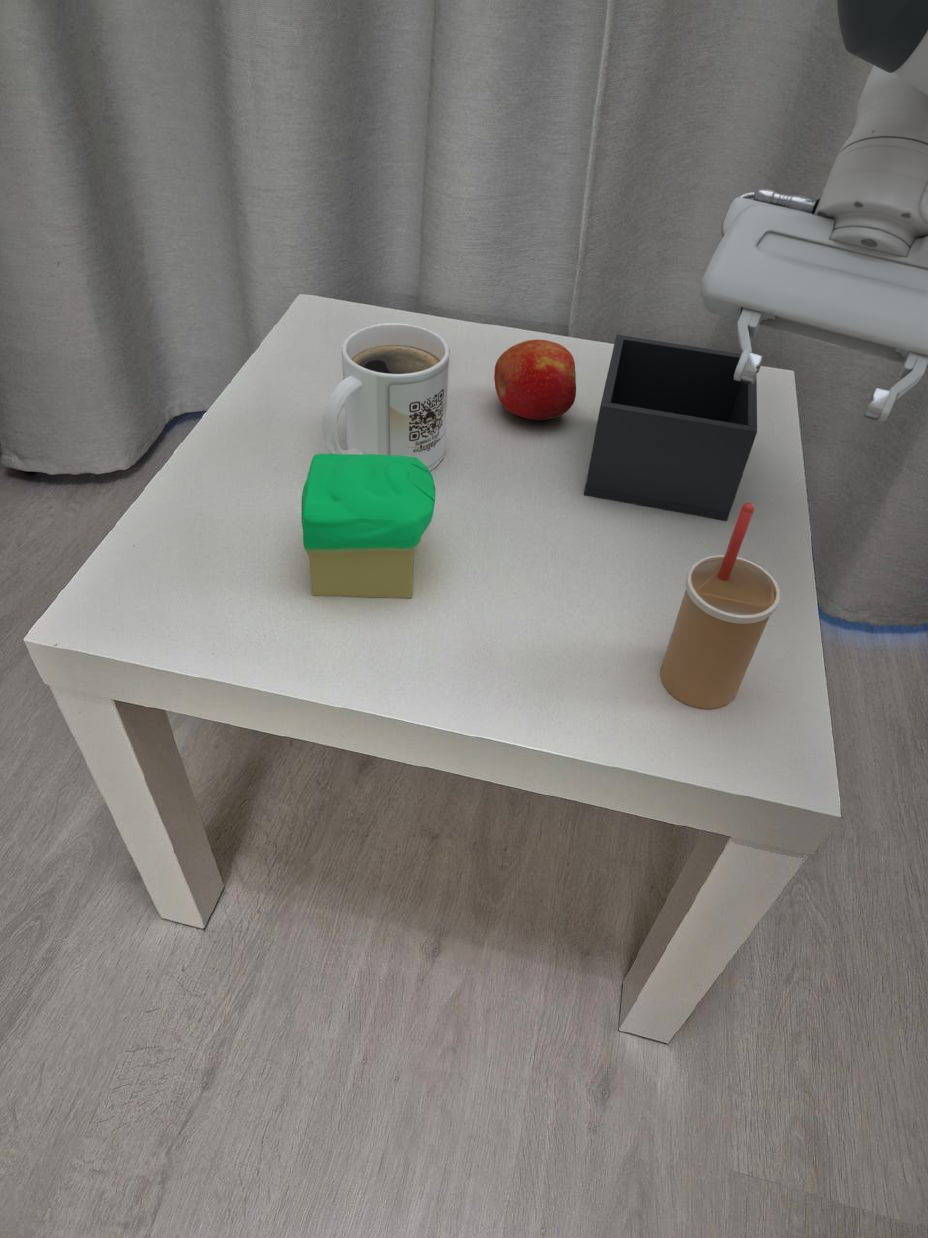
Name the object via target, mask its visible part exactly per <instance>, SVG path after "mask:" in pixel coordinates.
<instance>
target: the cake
mask: <svg viewBox="0 0 928 1238" xmlns="http://www.w3.org/2000/svg"><path fill="white" fill-rule="evenodd" d="M301 493H302V495H301V527H302V542H303V543H302V544H303V548H304V550H305V552H306V554H307V557H308V565H309V575H310V585H311V595H312V596H313V597H315V596H316V597H346V598H347V597H350V598H351V597H352V598H353V597H355V598H356V597H357V598H358V597H359V598H385V599H386V598H391V599H413V586H414V585H413V583H414V557H415V556H414V555H415V548H416V547H417V545H418V544H419V543H420V541H421V540H422V537H423V535H424V533H425V532H426V530H427V529H428V527H429V526H430V525H431V523H432V521H433V517H434V511H435V503H436V486H435V480H434V477H433V474H432V473H431V470H430V471H429V470H428V468H427V467H426V466H425V465H424V464H423V463H422V462H421V461H420V460H419V459H417V458H416V457H409V456H401V455H377V454H362V455H361V454H333V453H322V452H321V453H314V455H313V456H312V459H311V461H310V466H309V470H308V472H307V477H306V480H305V482H304V485H303V488H302V492H301Z"/></svg>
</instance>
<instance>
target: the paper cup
mask: <svg viewBox="0 0 928 1238" xmlns="http://www.w3.org/2000/svg"><path fill="white" fill-rule="evenodd" d="M754 512H755V506H754V505H753V503H751V502H745V503H743V504H742V505H741V507H740V511H739V513H738V517H737V520H736V521H735V525H734V528H733V530H732V534H731V536H730V539H729V541H728V545H727V547H726V551H725V553H724V554H715V555H709V556H705V557H703V558H700V559H698V560H697V561H695V562H694V563H693V564H692V565H691V566H690V567H689V569H688V572H687V574H686V578H685V591H684V593H683V596H682V600H681V603H680V606H679V610H678V612H677V615H676V619H675V622H674V625H673V629H672V631H671V635H670V638H669V641H668V644H667V647H666V650H665V652H664V656H663V660H662V663H661V666H660V670H659V673H660V679H661V683H662V684H663V687H664V688H665V689H666V691H667V692H668V693H669V694H670V695H671V696H672V697H673V698H674V699H676V700H677V701H679V702H680V703H682V704H685V705H687V706H690V707H692V708H696V709H701V710H714V709H720V708H722V707H725V706H727V705H729V704H730V703H731V702H732V701H733V700H734V699H735V698H736V696H737V693H738V692H739V689H740V687H741V684H742V683H743V680H744V677H745V675H746V673H747V671H748V668H749V666H750V664H751V661H752V659H753V656H754V654H755V652H756V649H757V647H758V644H759V643H760V640H761V638H762V635H763V633H764V631H765V628H766V626H767V623H768V621H769V619H770V617H771V616H772V615H773V614H774V613H775V612H776V610H777V608H778V606H779V603H780V601H781V590H780V587H779V584H778V583H777V581H776V579H775V578H774V577H773V576H772V575H771V574H770V572H769V571H767V570H766V569H765V568H763V567H762V566H760V565H759V564H757V563H755V562H753V561H751V560H748V559H747V558H744V557H740V556H739V553H740V550H741V547H742V544H743V542H744V540H745V539H744V538H745V535H746V533H747V530H748V527H749V525H750V523H751V519H752V517H753V514H754Z"/></svg>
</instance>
